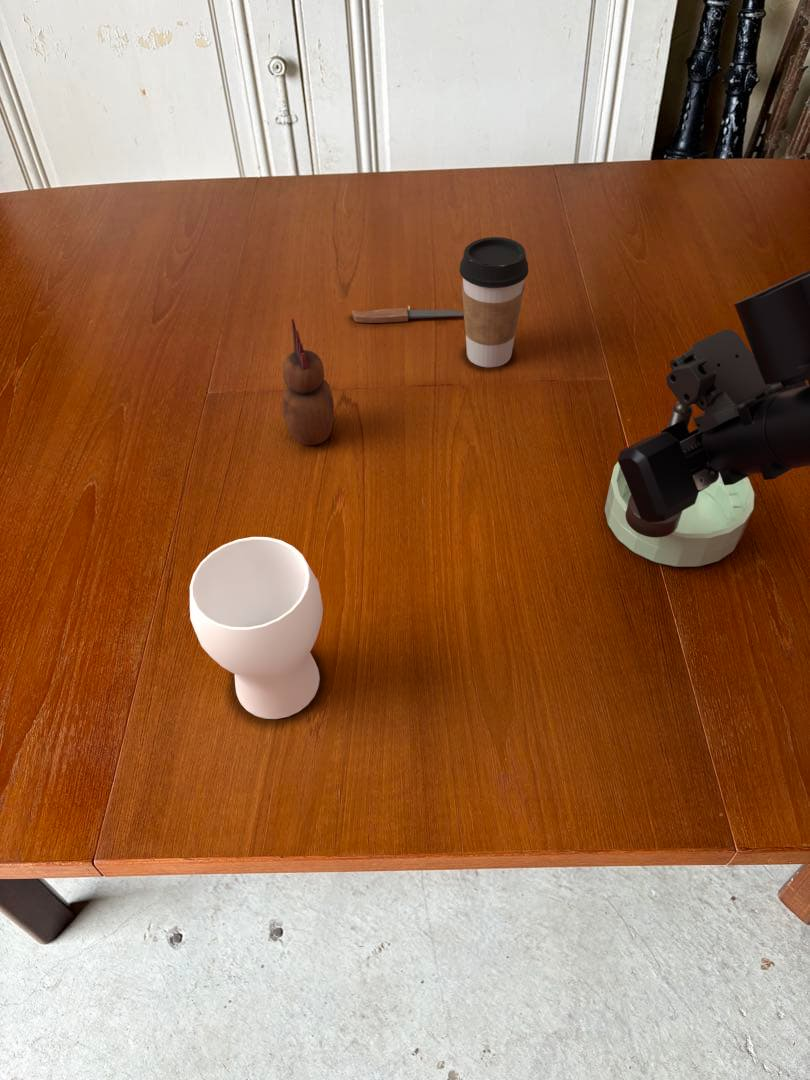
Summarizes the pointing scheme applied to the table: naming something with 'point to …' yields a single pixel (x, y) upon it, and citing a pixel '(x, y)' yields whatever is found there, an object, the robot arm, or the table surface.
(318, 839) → the table surface
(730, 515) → the mixing bowl
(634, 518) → the joystick
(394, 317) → the knife
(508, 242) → the coffee cup
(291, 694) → the cup
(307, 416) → the wooden figurine
